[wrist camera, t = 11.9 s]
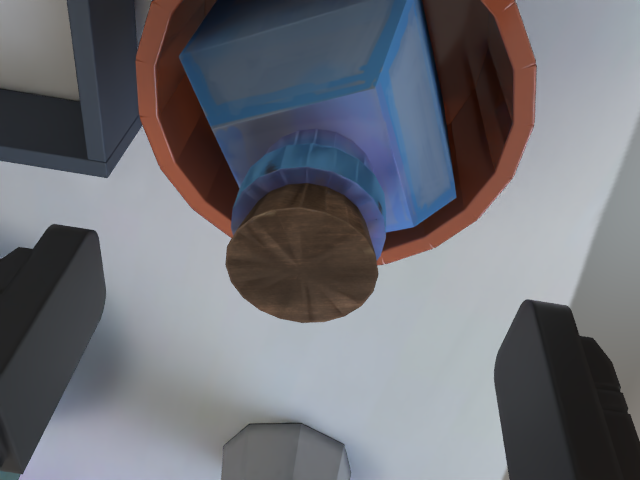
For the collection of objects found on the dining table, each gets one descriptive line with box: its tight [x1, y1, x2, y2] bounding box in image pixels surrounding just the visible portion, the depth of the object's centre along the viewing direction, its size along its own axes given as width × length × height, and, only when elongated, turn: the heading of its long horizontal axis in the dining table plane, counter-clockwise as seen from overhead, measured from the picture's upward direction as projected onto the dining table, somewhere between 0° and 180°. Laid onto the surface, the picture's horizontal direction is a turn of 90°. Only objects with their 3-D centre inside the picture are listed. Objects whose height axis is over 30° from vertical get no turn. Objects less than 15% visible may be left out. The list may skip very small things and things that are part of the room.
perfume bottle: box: [179, 0, 457, 323], centre depth 17 cm, size 6×6×12 cm
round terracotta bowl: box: [135, 0, 537, 265], centre depth 20 cm, size 11×11×6 cm
